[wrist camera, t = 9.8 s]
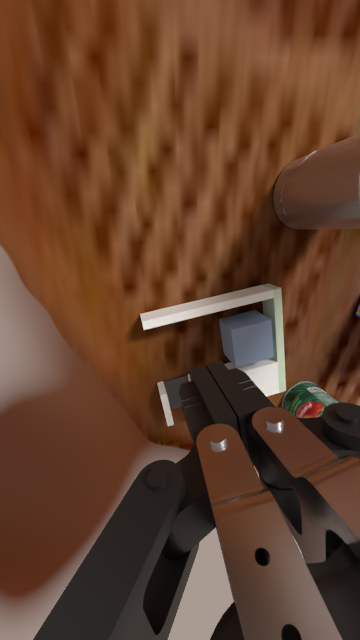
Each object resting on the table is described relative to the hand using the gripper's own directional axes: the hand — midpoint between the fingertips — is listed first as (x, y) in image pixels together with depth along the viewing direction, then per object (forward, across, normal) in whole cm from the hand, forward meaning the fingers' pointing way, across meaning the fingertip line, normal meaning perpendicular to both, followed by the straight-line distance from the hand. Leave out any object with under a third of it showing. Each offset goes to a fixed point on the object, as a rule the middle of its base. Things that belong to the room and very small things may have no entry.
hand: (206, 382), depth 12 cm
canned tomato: (+27, -22, +28) cm, 45 cm away
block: (+27, -12, +11) cm, 31 cm away
